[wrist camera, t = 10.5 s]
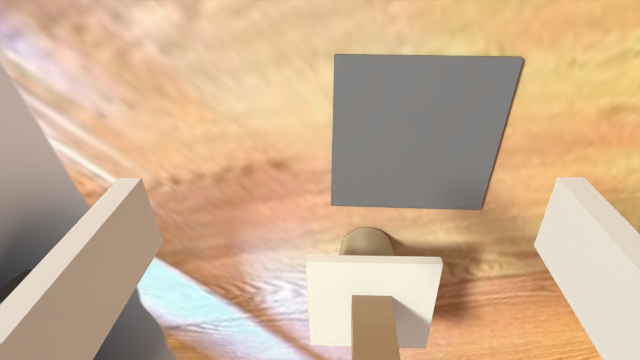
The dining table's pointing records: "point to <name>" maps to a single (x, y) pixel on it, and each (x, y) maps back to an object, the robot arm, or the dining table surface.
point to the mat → (418, 128)
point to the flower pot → (366, 243)
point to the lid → (371, 302)
